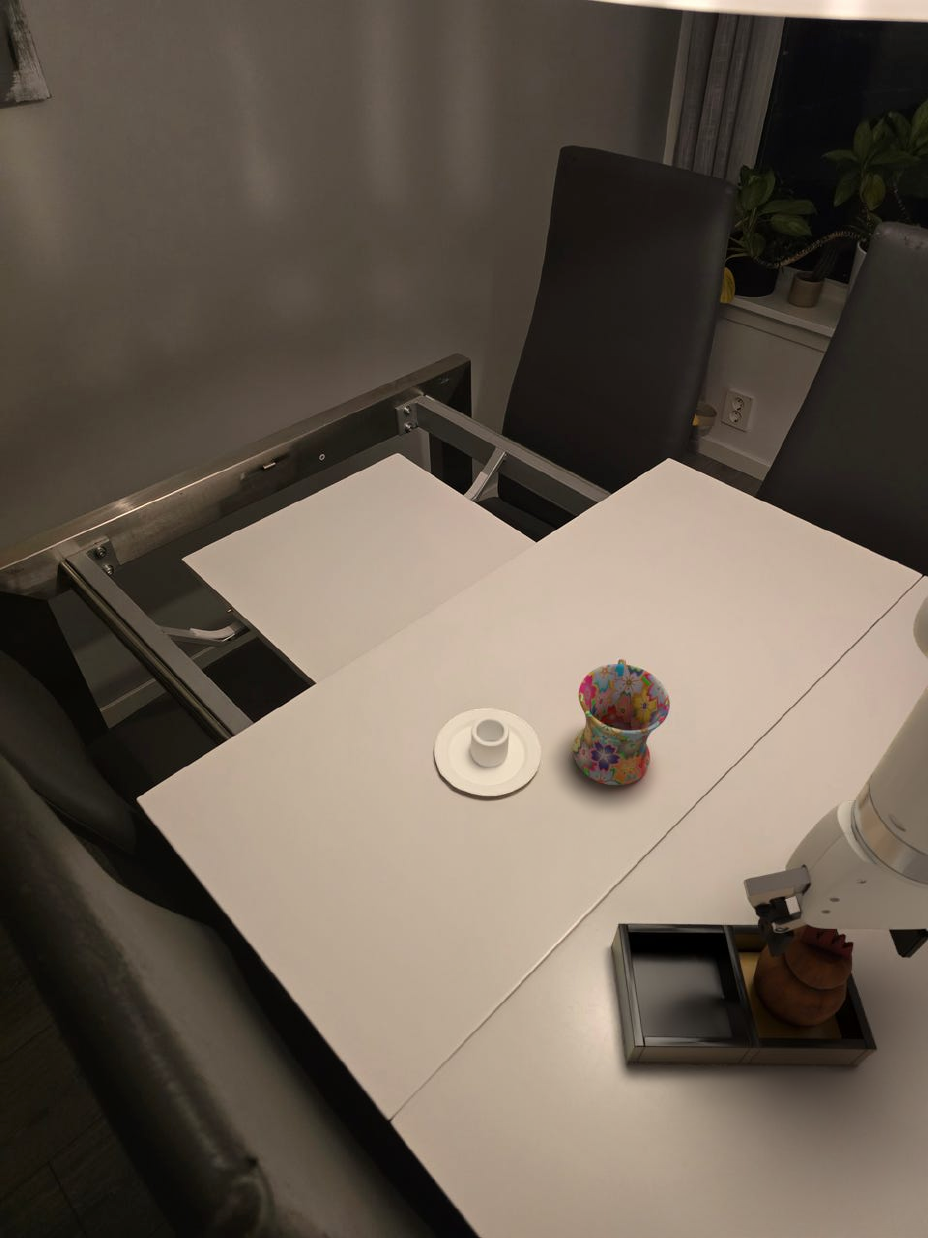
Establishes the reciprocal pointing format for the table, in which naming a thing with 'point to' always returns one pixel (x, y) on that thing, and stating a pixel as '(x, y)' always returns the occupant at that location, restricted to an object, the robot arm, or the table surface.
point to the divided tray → (718, 1003)
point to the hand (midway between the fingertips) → (833, 938)
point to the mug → (618, 722)
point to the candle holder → (487, 752)
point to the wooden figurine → (805, 977)
